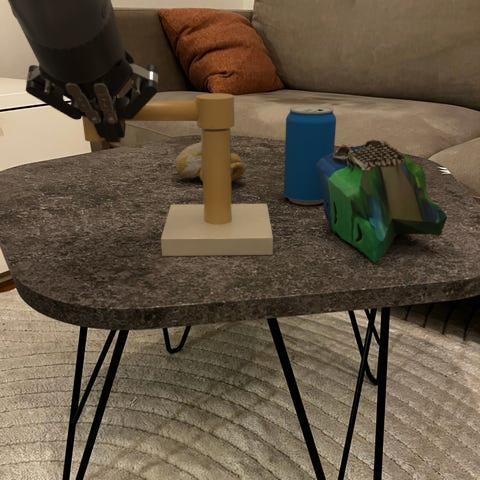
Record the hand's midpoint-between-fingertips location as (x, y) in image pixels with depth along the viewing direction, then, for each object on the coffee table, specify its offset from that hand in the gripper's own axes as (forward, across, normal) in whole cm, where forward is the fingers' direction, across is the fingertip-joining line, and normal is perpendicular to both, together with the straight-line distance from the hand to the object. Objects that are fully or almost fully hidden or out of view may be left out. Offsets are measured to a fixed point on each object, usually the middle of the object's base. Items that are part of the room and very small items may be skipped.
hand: (114, 135), depth 64 cm
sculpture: (+8, -29, +9) cm, 31 cm away
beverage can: (+19, -22, -2) cm, 29 cm away
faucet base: (+9, -11, +8) cm, 16 cm away
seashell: (+26, -8, -10) cm, 29 cm away
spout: (+1, -5, 0) cm, 5 cm away
